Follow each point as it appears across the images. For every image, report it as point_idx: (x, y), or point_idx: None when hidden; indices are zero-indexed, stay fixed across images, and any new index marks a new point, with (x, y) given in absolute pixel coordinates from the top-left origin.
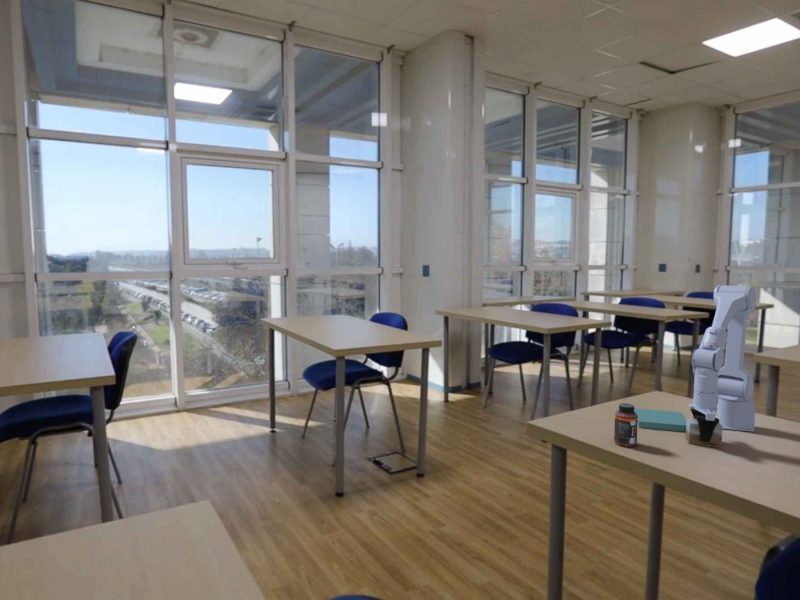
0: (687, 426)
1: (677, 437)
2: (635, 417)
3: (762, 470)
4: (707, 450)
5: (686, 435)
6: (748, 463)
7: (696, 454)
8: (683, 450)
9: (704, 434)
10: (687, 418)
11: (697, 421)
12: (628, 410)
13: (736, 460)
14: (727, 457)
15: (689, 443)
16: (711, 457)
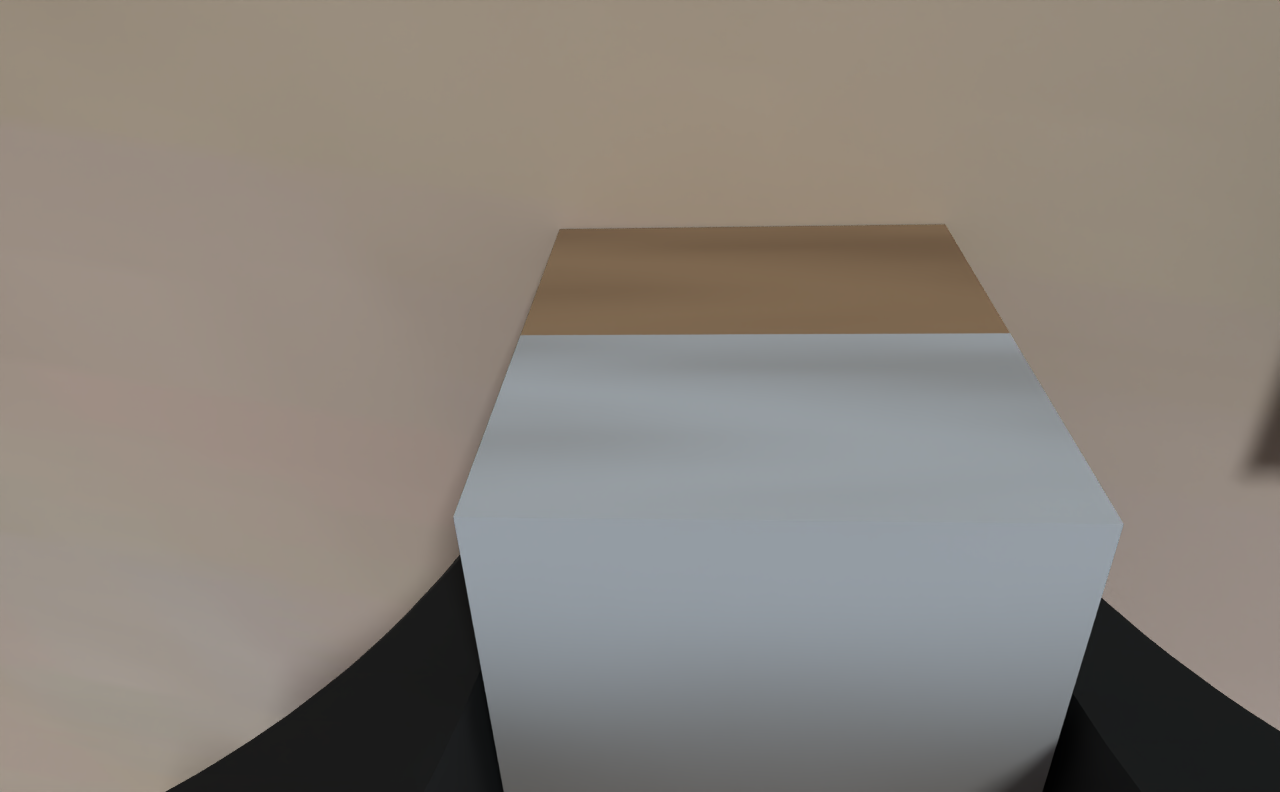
0: (830, 388)
1: (949, 48)
2: None
3: None
4: (343, 462)
5: (868, 260)
6: (112, 771)
7: (12, 264)
8: (80, 56)
9: None
10: (1050, 542)
11: (769, 726)
12: None
13: (132, 695)
14: (182, 634)
15: (557, 242)
16: (31, 455)
